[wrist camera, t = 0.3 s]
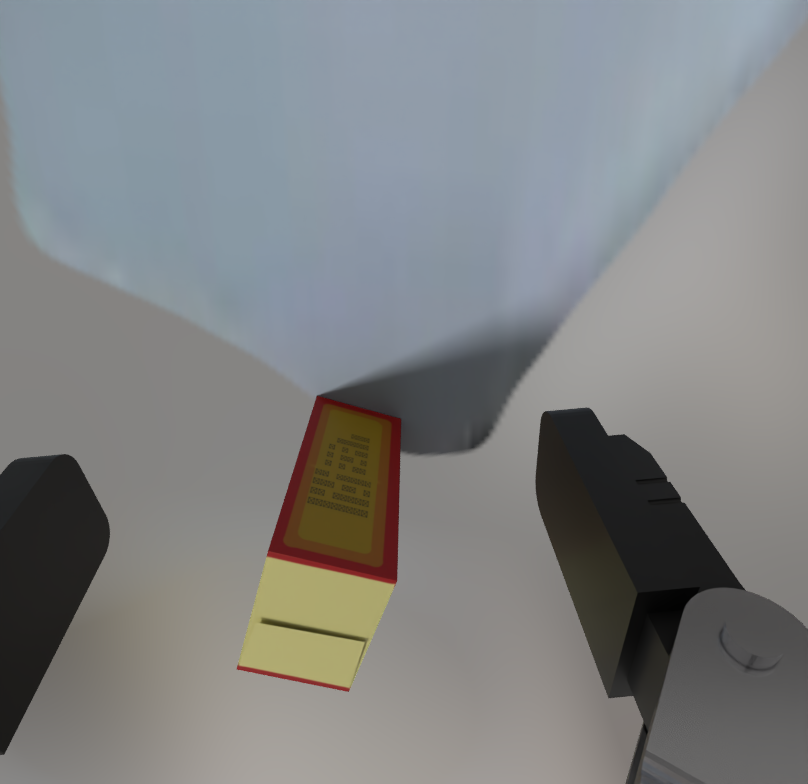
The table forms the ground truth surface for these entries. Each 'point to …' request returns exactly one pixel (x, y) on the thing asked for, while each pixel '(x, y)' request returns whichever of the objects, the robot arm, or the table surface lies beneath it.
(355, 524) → the baking soda box
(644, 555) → the robot arm
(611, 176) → the table surface
